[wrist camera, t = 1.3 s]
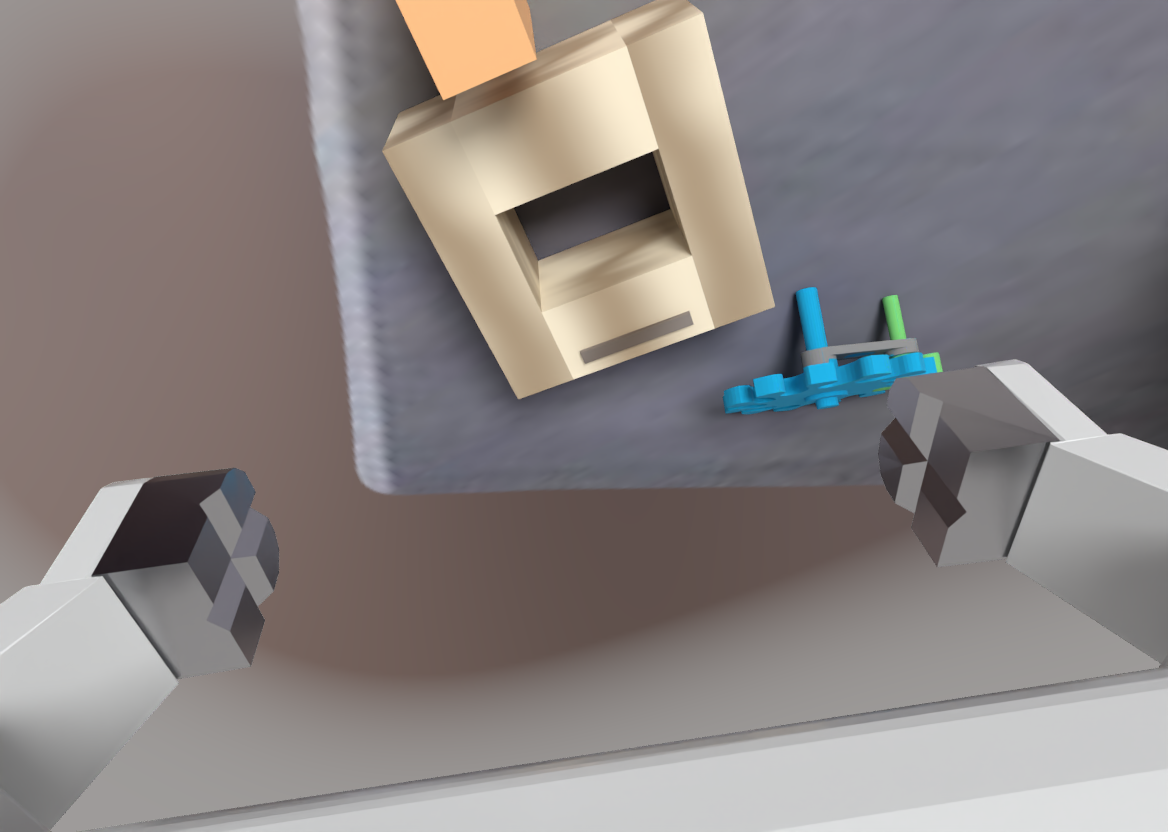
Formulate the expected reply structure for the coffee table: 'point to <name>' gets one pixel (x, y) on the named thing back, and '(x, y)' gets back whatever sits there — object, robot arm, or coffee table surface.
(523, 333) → the block
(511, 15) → the key peg
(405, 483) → the coffee table surface
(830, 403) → the gear
